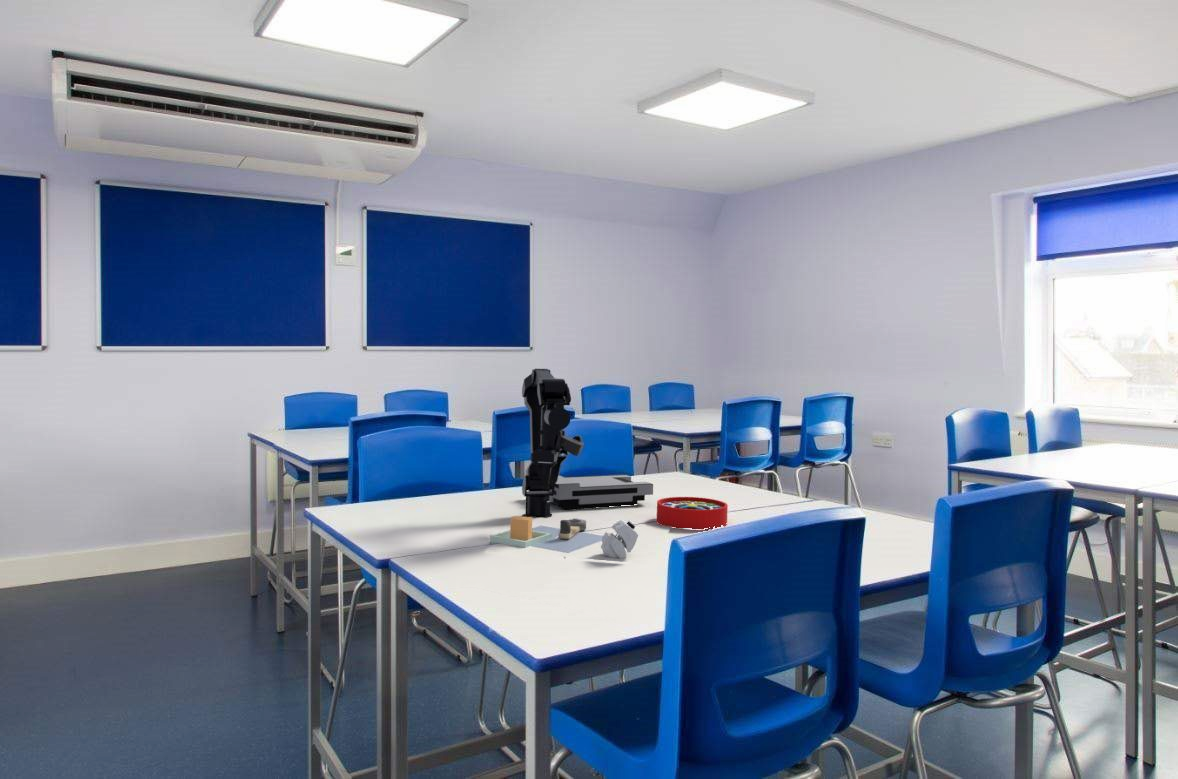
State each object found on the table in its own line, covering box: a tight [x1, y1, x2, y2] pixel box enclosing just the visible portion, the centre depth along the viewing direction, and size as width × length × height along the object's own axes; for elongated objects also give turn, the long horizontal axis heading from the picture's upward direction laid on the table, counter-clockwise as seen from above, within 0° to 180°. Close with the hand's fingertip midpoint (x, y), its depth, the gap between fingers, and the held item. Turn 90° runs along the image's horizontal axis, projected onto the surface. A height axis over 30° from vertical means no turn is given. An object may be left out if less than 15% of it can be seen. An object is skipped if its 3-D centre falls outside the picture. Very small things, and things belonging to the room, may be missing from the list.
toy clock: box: [656, 496, 729, 531], centre depth 229 cm, size 20×6×20 cm
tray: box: [489, 529, 552, 548], centre depth 201 cm, size 11×11×2 cm
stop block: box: [509, 515, 533, 541], centre depth 201 cm, size 4×5×6 cm
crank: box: [558, 517, 587, 539], centre depth 209 cm, size 15×5×4 cm, turn 166°
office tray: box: [549, 474, 654, 511], centre depth 257 cm, size 21×32×8 cm, turn 114°
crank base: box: [506, 525, 603, 554], centre depth 204 cm, size 22×20×1 cm
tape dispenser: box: [600, 519, 639, 559], centre depth 188 cm, size 6×7×10 cm
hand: (550, 484), depth 213 cm, fingers open, 9 cm apart
